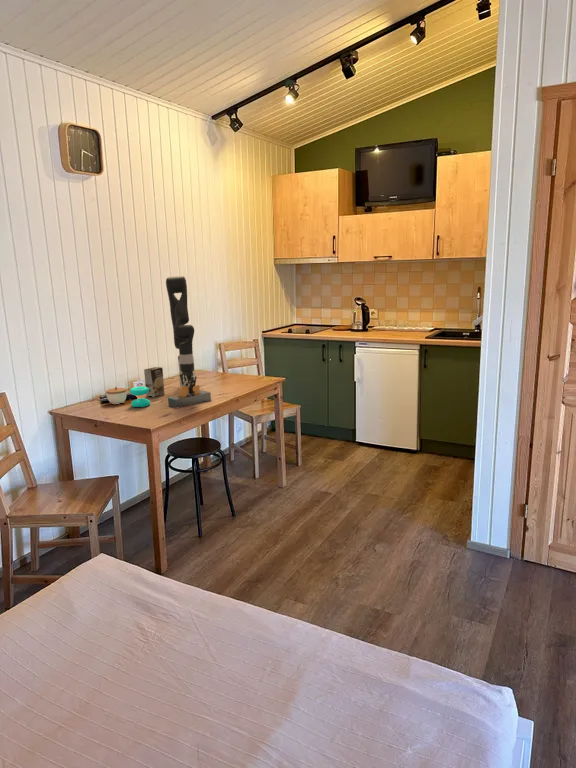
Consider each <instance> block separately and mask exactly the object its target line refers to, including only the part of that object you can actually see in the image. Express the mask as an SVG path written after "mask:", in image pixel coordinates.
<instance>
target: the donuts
mask: <svg viewBox="0 0 576 768" xmlns="http://www.w3.org/2000/svg"><path fill="white" fill-rule="evenodd" d="M148 392H149V388H148V387H146V386H142V385H141V386H134V387H132V388H130V389H129V394H130V395H132V396H144V395H146V394H147V393H148ZM150 405H151V401H150V400H149V399H148V398H143V397H142V398H135V399H133V400H132V401H131V403H130V406H132V407H133V408H135V407H141V408H146V407H148V406H150ZM145 406H146V407H145Z"/></svg>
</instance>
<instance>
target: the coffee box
mask: <svg viewBox="0 0 576 768" xmlns="http://www.w3.org/2000/svg"><path fill="white" fill-rule="evenodd" d="M163 371H164V369H163V367H162V366H161V367H159V366H158V367H155V366H154V367H151V368H145V369H143V372H144V383H145V386H144V387H148V388H149V392H148V393H147V394H145V395H146V397H147V396H152V397H151V398H156V397H155V396H157V397H159V396H158V395H160V396H163V395H165V383H164V380H165V379H164V372H163ZM162 394H163V395H162Z"/></svg>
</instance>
